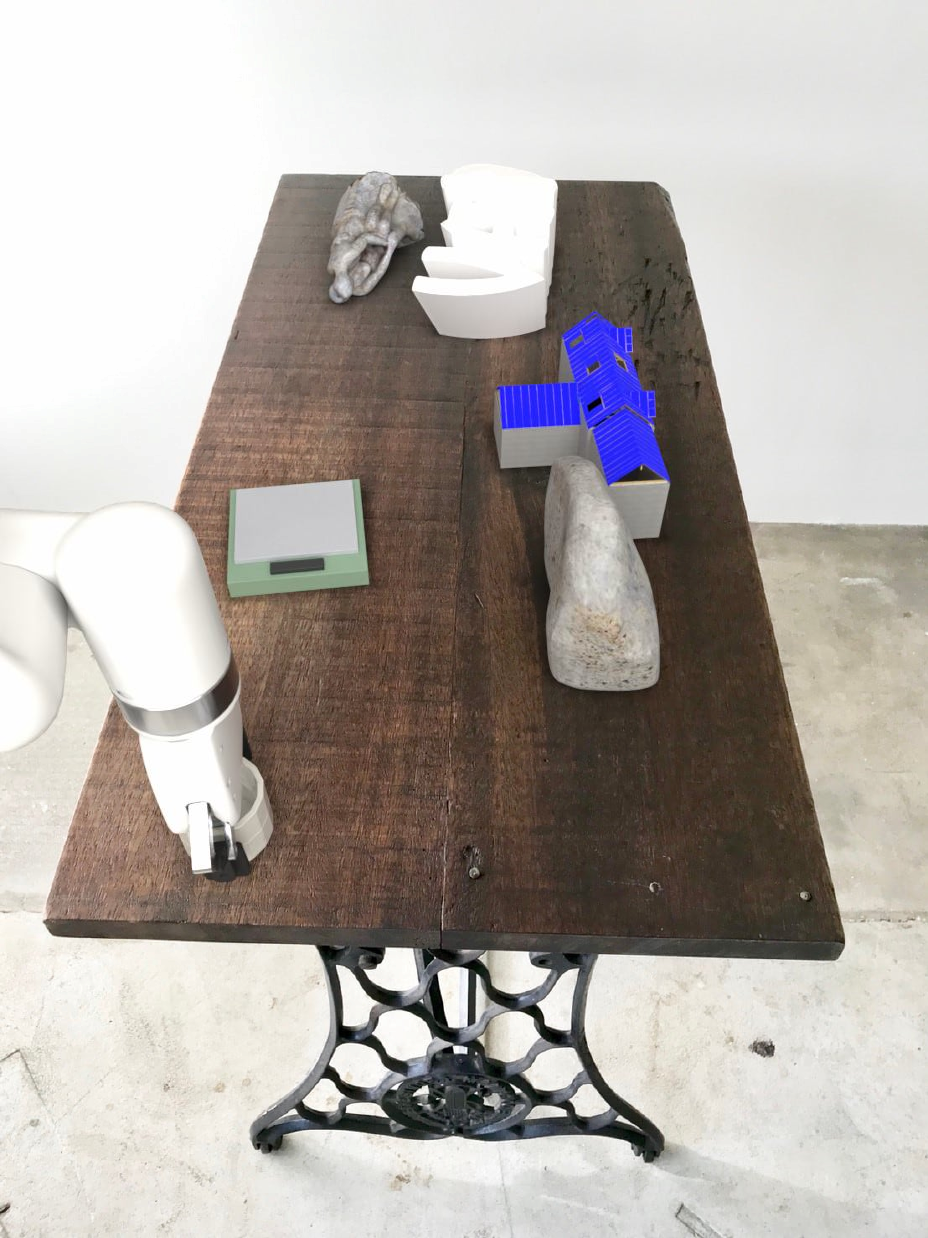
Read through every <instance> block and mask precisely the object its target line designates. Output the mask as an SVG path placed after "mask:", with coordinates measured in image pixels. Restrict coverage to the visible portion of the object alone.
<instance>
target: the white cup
mask: <svg viewBox="0 0 928 1238" xmlns="http://www.w3.org/2000/svg"><path fill="white" fill-rule="evenodd" d="M211 814H214V813H213V810H212V808H211ZM234 830H235V837H236V841H238V842H240V843H242V845H243V848H244V850H245V853H246V855H247V858H248V860H249V862H251V861H253V860H254V859H255V858H256V857H257V856H258V855H259V854H260V853H261V852H262V851H263V850H264V849H265V848H266V847H267V845H268V842H269V841H270V838H271V837H272V835H273V831H274V812H273V809H272V805H271V802H270V797H269V795H268V792H267V788H266V784H265V780H264V778H263V777H262V774H261V772H260V770H259V769H258V766H256V765H255V764H254V763H253V762H251V760H250V761H248V760H247V759H246V758H244V757H242V796H241V814H240V818H239V820H238V821H237V823H236V824H235V825H234ZM212 831H213V842H218V841H225V838H224V831H223V827H216V828H212ZM178 836H179V838H180V840H181V843H182V845H183V847H184V849H185V852H186V853H187V855H188V857H190V858H191V843H190V829H189V828H188V830H187V833H181V834H178Z"/></svg>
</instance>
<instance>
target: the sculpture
mask: <svg viewBox="0 0 928 1238" xmlns="http://www.w3.org/2000/svg"><path fill="white" fill-rule="evenodd" d="M330 235H331V241H332V243H331V246H330V252H329V253H330V256H329V259H328V262H327V265H326V270H327V273H328V274H329V275H330V276H331V277H334V280H333V283H331V284H330V286H329V289H328V296H329V298H330V300H331V301H332V302H334V303H336V304H342V303H346V302H347V301H348V300H349V299H350V298H351V296H355V297H363V296H366V295H369V293H370V292H372V291H373V289H374V288H376V286H377V285H378V283H379V282H380V281H381V279H382V277H383V276H385V274H386V272H387V270H388V268H389V265H390V262H391V259H392V256H393V254H394V252H395V249H400V248H403V247H406V246H409V245H413V244H415V243H418V242H419V243H420V242H421V241H423V239H424V238H425V237H426V236H425V231H424V220H423V216H422V210H421V207H420V205H419V203H418V202H417V201H416V200H414V199H412V197H410V196H409V195H408V194H407V191H405V190H404V189H403V188H402V187H401V186H400V184H399V183H398V181H397V179H396V178H395V177H394V176H393V175H392V174H391V173H389V172H385V171H377V170H372V171H367V172H366V173H365V174H364V175H363V176H361V177H359V178H356V180H354V181H352V182H351V183H350V184H349V185H348V187H347V190H346V191H345V192H344V193H343V194H342V196H341V197H340V200H339V203H338V206H337V209H336V211H335V215H334V218H333V222H332V227H331V229H330Z"/></svg>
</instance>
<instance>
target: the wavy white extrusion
mask: <svg viewBox="0 0 928 1238" xmlns="http://www.w3.org/2000/svg"><path fill="white" fill-rule="evenodd" d="M440 187H441V192H442V196H443V200H444V206H445V210H446V215H447V219H445V220H443V221H442V222H440V223H439V224H440V229H441V232H442V235H443V239H444V243H445V246H427V247H426V248H425V249H424V250H423V251H422V252H421V253H422V254H421V262H422V264H423V266H424V268H425V270H426V273H427V274H428V276H423V275H416V276H415V278H414V280H413V283H412V287H411V291H412V293H413V294H414V297H415V298H416V299H417V301H418V303H419V304H420V306H421V307H422V309H423V310H424V312H425V314H426V315H427V317H428V319H429V321H430V322H431V323H432V325H433V327H434V328H435V330H436V331H437V333H438V334H439V335H441V336H446V337H453V338H460V339H475V340H483V339H484V340H486V339H487V340H488V339H490V340H491V339H502V338H511V337H518V336H521V335H527V334H530V333H534V332H537V331H539V330H542V329H545V328H546V315H547V313H548V312H547V311H548V297H549V294H550V286H551V285H552V279H553V278H552V277H553V268H554V256H555V243H556V225H557V207H558V190H559V189H558V188H559V187H558V183H557V181H556V180H555V179H554V178H550V177H549V178H548V177H545V176H542V175H540V174H537V173H535V172H531V171H528V170H525V169H521V168H518V167H517V168H516V167H514V166H513V167H512V166H507V165H501V164H494V163H493V164H492V163H473V164H472V163H471V164H467V165H462V166H460V167H458V168H456V169H454V170H453V171H452V172H451V173H450V174H445V173H444V174H443V175H441V178H440Z"/></svg>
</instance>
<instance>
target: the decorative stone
mask: <svg viewBox="0 0 928 1238" xmlns="http://www.w3.org/2000/svg"><path fill="white" fill-rule="evenodd" d="M547 483H548V484H547V489H546V493H545V502H544V515H543V516H544V517H543V519H544V521H543V531H544V533H543V534H544V549H543V560H544V567H545V572H546V578H547V583H548V584H549V585H548V586H549V590H550V593H549V599H548V603H547V610H546V615H545V617H546V618H545V619H546V621H545V635H546V636H545V637H546V646H547V649H546V650H547V659H548V664H549V665H548V666H549V669H550V672H551V675H552V676H553V677H554V679H555V680H556V681H557V682H559V683H560V684H563V685H566V686H568V687H571V688H573V689H574V688H575V689H578V690H583V691H584V690H586V691H601V692H602V691H605V692H625V691H626V692H627V691H638V690H644V689H647V688H648V689H649V688H650V687H653V686H654V685H656V684H657V682H658V681H659V677H660V671H661V669H660V667H661V651H660V650H661V648H660V631H659V630H660V629H659V623H658V616H657V610H656V604H655V599H654V594H653V590H652V587H651V582H650V578H649V575H648V572H647V570H646V567H645V564H644V562H643V560H642V558H641V555H640V553H639V551H638V549H637V546H636V544H635V542H634V541H635V540H634V539H632V536H631V533H630V530H629V528H628V526H627V524H626V522H625V519H624V517H623V515H622V513H621V511H620V509H619V507H618V505H617V503H616V501H615V499H614V497H613V495H612V493H611V491H610V489H609V487H608V485H607V483H606V481H605V479H604V478H603V476H602V474H601V473H600V471H599V470H598V468H597V467H596V465H595V464H594V463H592V462H591V461H589V460H586V459H584V458H582V457H579V456H566V457H561V458H558V459H557V460H556V461H554V462H553V464H552V465H551V468H550V472H549V478H548V482H547Z"/></svg>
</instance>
